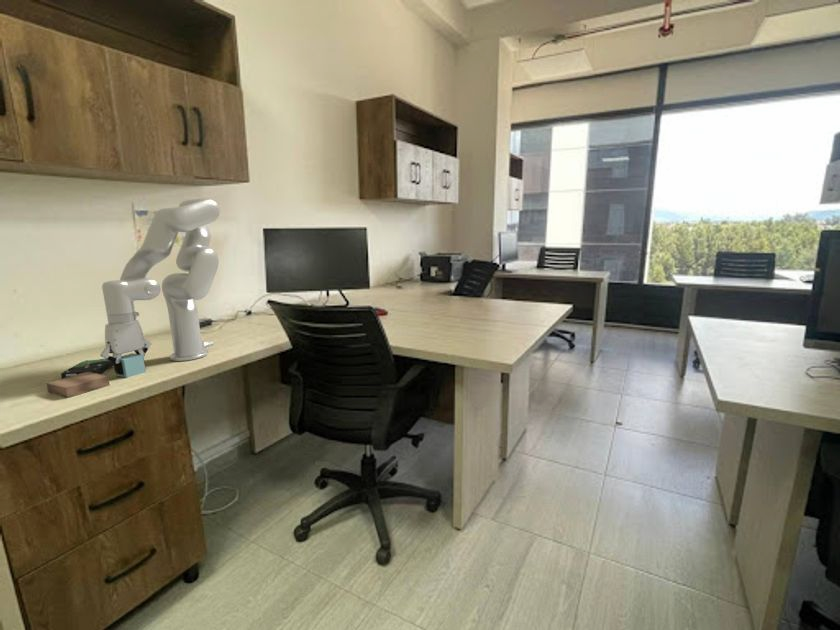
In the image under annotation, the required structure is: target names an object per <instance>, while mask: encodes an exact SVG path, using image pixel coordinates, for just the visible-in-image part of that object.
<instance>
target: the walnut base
mask: <svg viewBox="0 0 840 630" xmlns="http://www.w3.org/2000/svg"><path fill="white" fill-rule="evenodd" d="M108 386H110V378H109V375H105V374H97V373H92V372H85V373H81V374H78V375H74V376H70V377H66V378H63V379H62V378H60V379H56V380H55V379H54V380H52V381H48V382H46V388H47V392H48V393H49V394H51V395H52V394H53V395H56V396H60V397H63V398H65V399H69V398H72V397H76V396H79V395H82V394H86V393H88V392H92V391H96V390H98V389H102V388H105V387H108Z"/></svg>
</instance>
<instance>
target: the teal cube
mask: <svg viewBox="0 0 840 630" xmlns="http://www.w3.org/2000/svg"><path fill="white" fill-rule="evenodd" d="M144 362H145V358H143V355H139V354H136V353H135V352H134V353H132V352H131V353H129V354H123V355H121V359H120V363H122V367H123V373H124V374H122V375H120V374H116V373H115V375H116V376H118V377H122V378H131V377H133V376H138V375H141V374H144V373H147V372H146V367H145V364H146V363H145V364H144Z"/></svg>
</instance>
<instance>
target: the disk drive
mask: <svg viewBox="0 0 840 630" xmlns="http://www.w3.org/2000/svg"><path fill="white" fill-rule="evenodd" d="M113 367H114V364H113V363H112V362H111V361H109V360H107V359H106V358H99V359H90V360H89V359H86V360H83V361H81V362H79V363H77V364H75V365H73V366H71V367H70V368H68V369H66V370H64V371H62V372H61V373H60V376H61V379H63V378H66V377H70V376H74V375H78V374H81V373H85V372H92V373H97V374H101V375H103V373H105V372H106V371H108V370H110V369H111V368H113Z"/></svg>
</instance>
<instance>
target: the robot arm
mask: <svg viewBox="0 0 840 630" xmlns="http://www.w3.org/2000/svg"><path fill="white" fill-rule="evenodd" d="M220 213H221V209H220V206H219V204H218V203H217V202H216V201H215V200H214V199H211V198H207V197H205V198H193V199H186V200H183V201H182V202H180V204H179V205H178V207H177V206H176V207H174V206H173V207H165V208H160V209H158V210H157V211H156V212H155V213H154V215H153V218H152V220H151V222H150V225H149V227H148V230H147V232H146V235H145V238H144V241H143V243H142V245H141V246H140V248H138V250H137V251H136V252H135V254H133V256H132V257H131V258H130V259H129V260H128V262H127V263H126V264H125V266H124V268H123V270H122V273H121V275H120V278H119V279H118V280H109V281H105V282H104V281H103V283H102V286H101V289H102V295H103V301H104V305H105V313H106V317H107V323H105V325H104V327H105V328H104V341H105V342H104V344H105V347H104V349H103V350H102V352H101V353H100V357H102V359H107V360H109V361H111V362H112V363H113V364H114V366H113V367H114V368H113V369H114V373H115V375H116V374H120V375H122V374H124V373H123V367H122V363H120V359H121V356H123V355H125V354H126V353H132V352H134V354H139V355H143V358H144V357H145V356H146V353H147V351H149V348H150V347H151V346H152V343H151V341H149V340H148V339H146V338H145V336H144V332H143V328H142V326H141V323H140V321H139V320H138V319H137V317H139V316H140V312H138V311H136V310H135V304H134V303H135V301H150V300H154V299H156V298H157V297H158V296H159V295H160V293H161V291H162V294H163V297H164V300H165V303H166V308H167V313H168V318H169V319H168V320H169V327H170V334H171V341H172V346H173V347H172V348H173V353H171V354H170V355H169V359H170V360H171V361H174V362H184V361H193V360H197V359H200V358H204V357H205V356H208V350H207V348H209V347H213V346H214V341H212V340H211V341H207V342H206V341H202V336H201V329H200V328H201V327H200V320H199V319H200V318H199V310H198V307H197V304H196V302H195V301H200V300H202V299H204V298H205V297H206V296H207V295H208V293H210V289H211V287H212V285H213V282H214V279H215V277H216V274H217V272H218V268H219V256H218V254H217V253H216V251H215V250H214V249H212V248H211V247H209V246H210V243H211V238H212V236H211V231H210V229H209V226H208V224H212V223H213V222H215V221H216V220H218V218H219V217H220V215H221V214H220ZM178 233H185V236H184V239H183V241H182V244H181V246H180V248H179V251H178V253H177V255H176V259H175V263H176V266H177V269H179V270H181V271H182V272H183V273H180V272H178V273H177V272H175V273H171V274H168V275H167V276H166V277H164V279H163V280H162V283H161V286H160V284H159V282H158V281H157V280H155V279H153V278H148V277H146V276H147V275H148V273H149V272H150V271H151V270H152V268H153V267H154V266H156V265H158V264H159V263H160V262H163V261H164V260H166V259H167V258H168V257H170V255H171V253H172V250H173V247H174V244H175V242H176V239H177V237H178ZM184 272H185V273H184ZM186 272H188V273H186ZM109 354H112V355H109ZM144 359H145V358H144ZM144 364H146V363H145V361H144Z"/></svg>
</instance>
